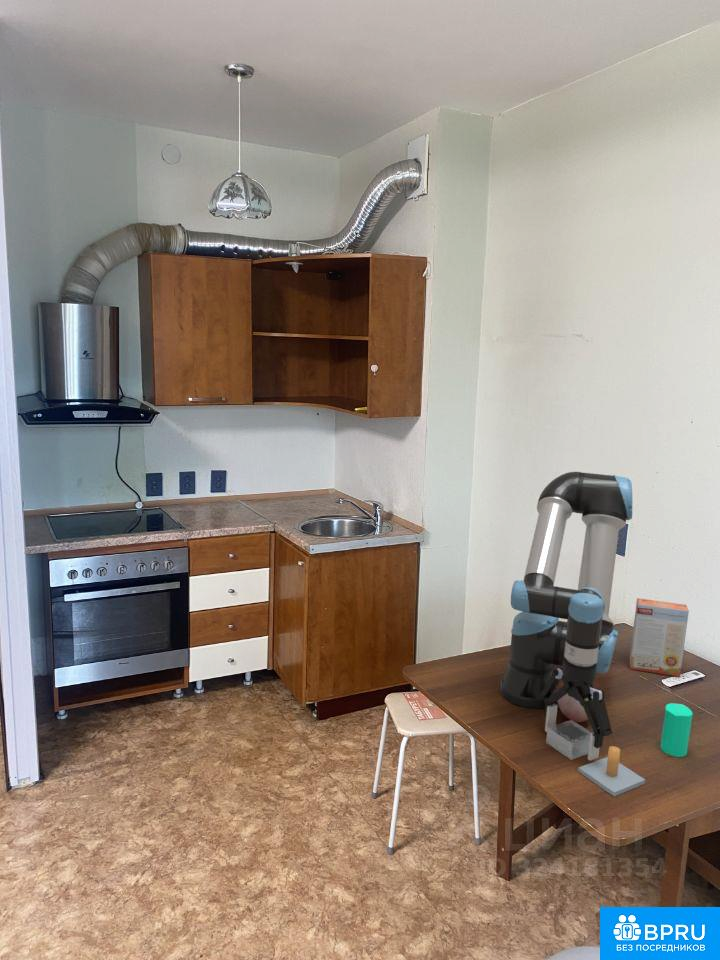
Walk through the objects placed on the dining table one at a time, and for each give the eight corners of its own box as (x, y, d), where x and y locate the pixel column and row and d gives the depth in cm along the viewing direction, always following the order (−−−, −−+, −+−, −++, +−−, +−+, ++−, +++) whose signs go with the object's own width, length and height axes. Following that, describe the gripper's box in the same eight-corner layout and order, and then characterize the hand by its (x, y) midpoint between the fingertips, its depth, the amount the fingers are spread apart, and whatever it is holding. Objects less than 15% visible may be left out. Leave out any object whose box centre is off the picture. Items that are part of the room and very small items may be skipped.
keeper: (578, 771, 160) (581, 743, 159) (608, 760, 165) (612, 732, 164) (613, 796, 152) (617, 767, 150) (644, 783, 157) (648, 755, 155)
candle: (664, 739, 175) (670, 694, 173) (690, 749, 171) (696, 703, 169) (656, 749, 170) (663, 703, 168) (683, 759, 167) (689, 712, 164)
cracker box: (678, 669, 214) (687, 603, 210) (680, 678, 209) (689, 610, 205) (628, 661, 218) (636, 596, 214) (629, 669, 213) (637, 603, 209)
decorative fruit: (600, 726, 180) (604, 689, 178) (578, 734, 176) (582, 697, 174) (571, 709, 188) (575, 674, 186) (549, 716, 183) (553, 680, 182)
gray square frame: (546, 742, 171) (547, 727, 171) (569, 734, 175) (571, 719, 175) (571, 760, 165) (572, 744, 164) (595, 751, 169) (597, 735, 168)
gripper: (530, 642, 174) (522, 722, 178) (612, 686, 153) (601, 775, 157) (552, 638, 178) (544, 716, 182) (635, 679, 157) (624, 767, 161)
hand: (570, 744), depth 169 cm, fingers open, 13 cm apart
